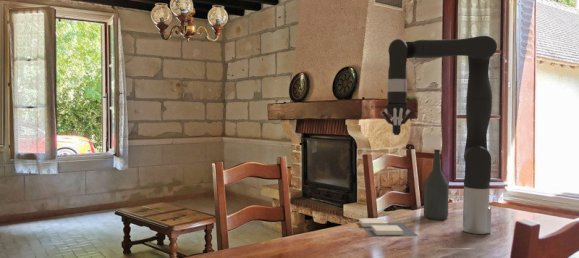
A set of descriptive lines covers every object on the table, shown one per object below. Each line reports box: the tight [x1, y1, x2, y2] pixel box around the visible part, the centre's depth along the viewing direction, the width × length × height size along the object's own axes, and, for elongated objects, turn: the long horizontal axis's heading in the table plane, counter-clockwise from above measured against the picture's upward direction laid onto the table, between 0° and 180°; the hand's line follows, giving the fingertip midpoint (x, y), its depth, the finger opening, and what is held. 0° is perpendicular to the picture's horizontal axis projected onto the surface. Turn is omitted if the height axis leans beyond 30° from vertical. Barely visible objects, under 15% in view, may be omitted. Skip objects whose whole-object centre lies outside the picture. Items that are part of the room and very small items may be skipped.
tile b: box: [371, 225, 403, 235], centre depth 176 cm, size 2×8×10 cm
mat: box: [360, 221, 419, 238], centre depth 181 cm, size 18×22×1 cm
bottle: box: [423, 149, 450, 221], centre depth 203 cm, size 10×10×30 cm
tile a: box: [358, 217, 388, 228], centre depth 188 cm, size 2×8×10 cm
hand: (396, 134), depth 184 cm, fingers closed
